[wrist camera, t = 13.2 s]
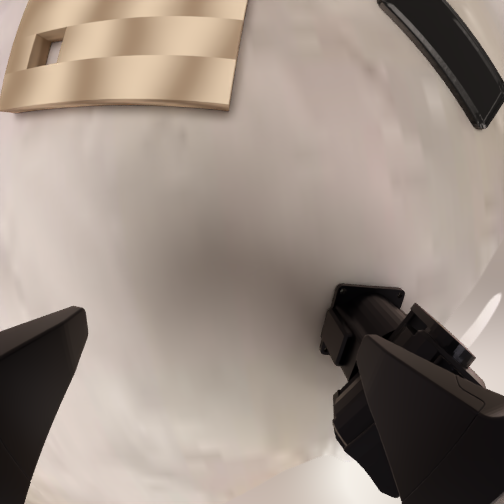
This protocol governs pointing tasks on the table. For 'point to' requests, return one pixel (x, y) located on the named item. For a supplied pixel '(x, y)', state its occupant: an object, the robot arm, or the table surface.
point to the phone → (451, 54)
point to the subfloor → (124, 54)
